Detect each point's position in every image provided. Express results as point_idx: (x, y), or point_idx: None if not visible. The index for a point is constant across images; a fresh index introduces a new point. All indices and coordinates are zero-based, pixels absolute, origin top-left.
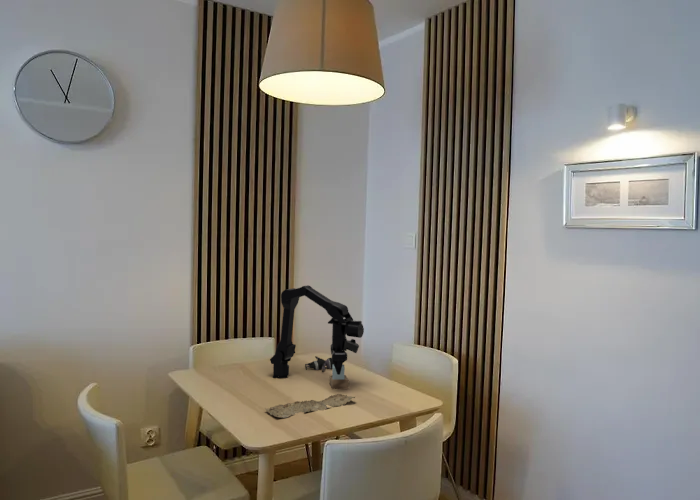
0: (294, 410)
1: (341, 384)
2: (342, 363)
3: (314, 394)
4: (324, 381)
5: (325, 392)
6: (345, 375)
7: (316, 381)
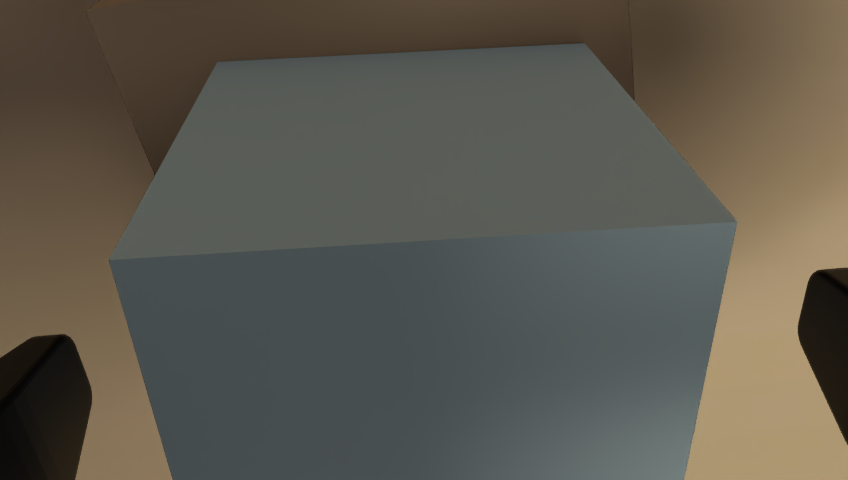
0: None
1: None
2: None
3: (826, 443)
4: (116, 371)
5: (760, 315)
6: (137, 10)
7: (154, 477)
